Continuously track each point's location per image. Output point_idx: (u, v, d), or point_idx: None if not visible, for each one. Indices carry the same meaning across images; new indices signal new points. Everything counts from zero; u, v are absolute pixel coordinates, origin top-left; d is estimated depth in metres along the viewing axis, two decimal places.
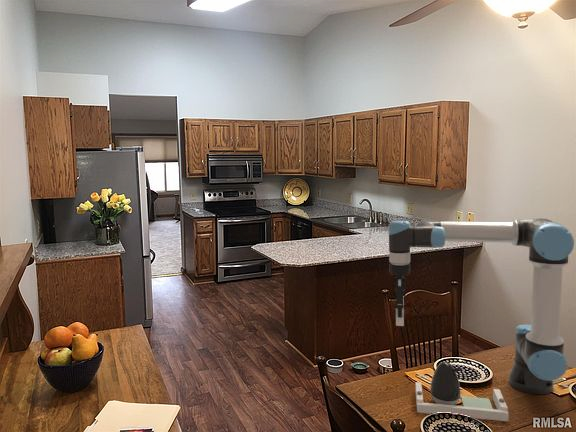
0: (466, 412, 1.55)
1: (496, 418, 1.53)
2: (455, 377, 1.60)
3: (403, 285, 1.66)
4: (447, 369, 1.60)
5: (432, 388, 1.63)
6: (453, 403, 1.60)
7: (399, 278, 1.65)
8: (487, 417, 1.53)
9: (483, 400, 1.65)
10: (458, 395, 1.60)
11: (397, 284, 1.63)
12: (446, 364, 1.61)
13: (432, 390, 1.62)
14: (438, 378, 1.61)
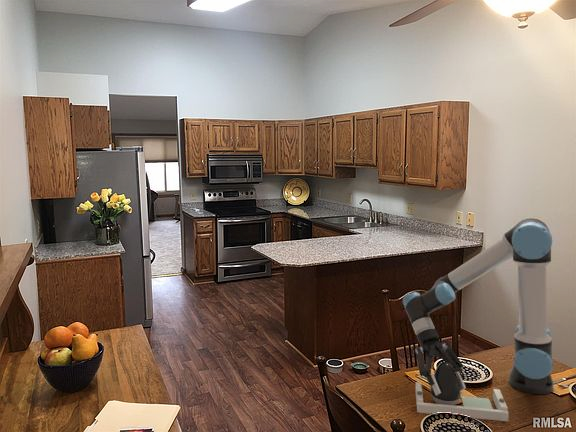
0: (466, 412, 1.55)
1: (496, 418, 1.53)
2: (455, 377, 1.60)
3: (429, 351, 1.67)
4: (448, 369, 1.60)
5: (432, 388, 1.63)
6: (453, 403, 1.60)
7: (421, 346, 1.69)
8: (487, 417, 1.53)
9: (483, 400, 1.65)
10: (458, 395, 1.60)
11: (416, 353, 1.68)
12: (446, 364, 1.61)
13: (432, 390, 1.62)
14: (438, 378, 1.61)
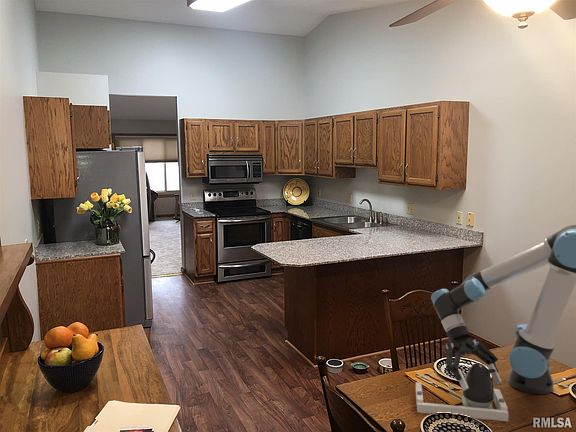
0: (466, 412, 1.55)
1: (496, 418, 1.53)
2: (489, 378, 1.58)
3: (459, 348, 1.65)
4: (481, 370, 1.57)
5: (465, 390, 1.60)
6: (487, 405, 1.57)
7: (452, 342, 1.67)
8: (487, 417, 1.53)
9: None
10: (492, 397, 1.57)
11: (446, 348, 1.66)
12: (480, 365, 1.59)
13: (465, 392, 1.60)
14: (472, 380, 1.58)
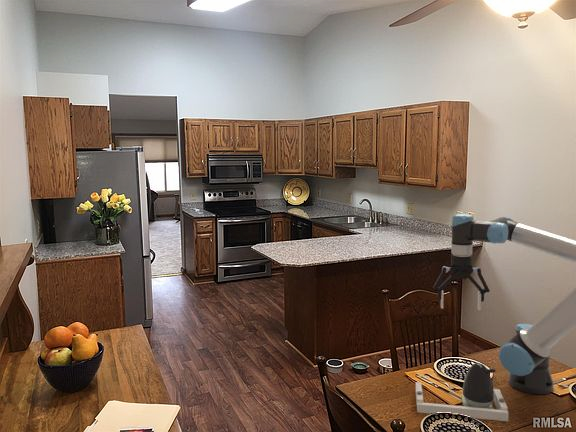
0: (466, 412, 1.55)
1: (496, 418, 1.53)
2: (489, 378, 1.58)
3: (453, 274, 1.76)
4: (481, 370, 1.58)
5: (465, 390, 1.60)
6: (487, 405, 1.57)
7: (451, 266, 1.77)
8: (487, 417, 1.53)
9: None
10: (492, 397, 1.57)
11: (442, 269, 1.79)
12: (479, 365, 1.59)
13: (465, 392, 1.60)
14: (472, 380, 1.58)
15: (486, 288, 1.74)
